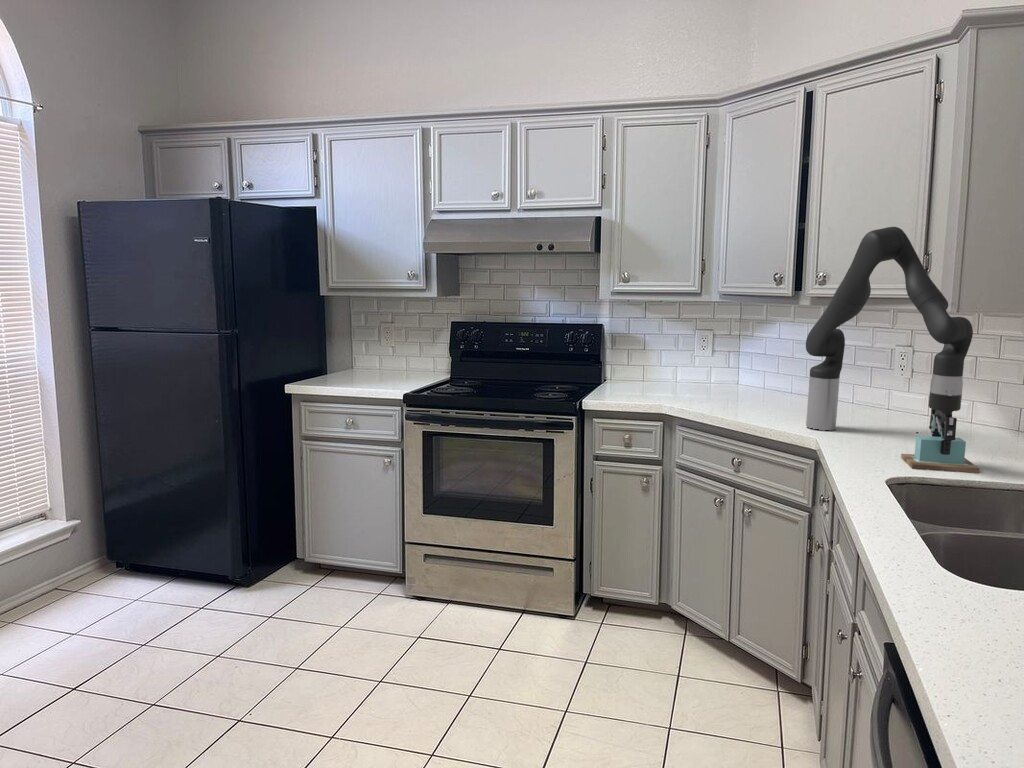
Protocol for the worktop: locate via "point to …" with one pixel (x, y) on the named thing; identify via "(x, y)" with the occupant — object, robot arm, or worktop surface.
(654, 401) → the worktop surface
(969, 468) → the stub base
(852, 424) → the worktop surface
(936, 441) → the block
